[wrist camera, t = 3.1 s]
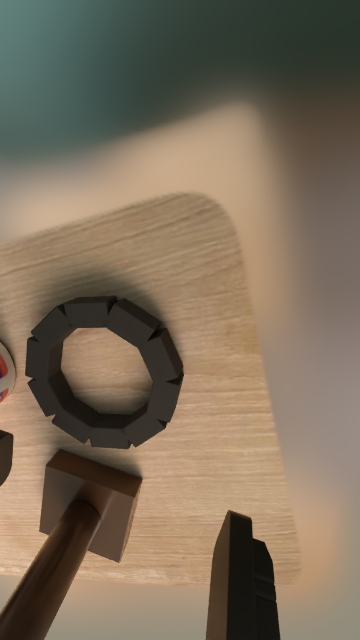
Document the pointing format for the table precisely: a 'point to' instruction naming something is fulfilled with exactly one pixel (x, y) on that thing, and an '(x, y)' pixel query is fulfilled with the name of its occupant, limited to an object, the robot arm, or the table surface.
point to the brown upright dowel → (70, 538)
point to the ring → (78, 415)
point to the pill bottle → (6, 373)
